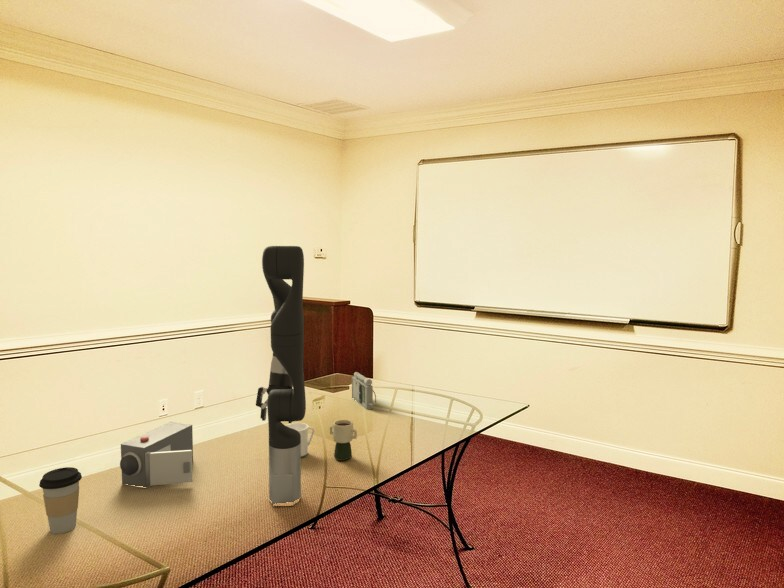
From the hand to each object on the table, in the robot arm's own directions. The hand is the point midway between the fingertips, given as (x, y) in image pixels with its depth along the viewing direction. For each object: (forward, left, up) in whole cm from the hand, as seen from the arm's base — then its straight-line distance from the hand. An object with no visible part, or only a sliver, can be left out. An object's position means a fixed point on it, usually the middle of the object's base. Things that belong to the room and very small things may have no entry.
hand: (277, 421), depth 168 cm
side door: (-6, +32, -17) cm, 37 cm away
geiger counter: (+78, -29, -19) cm, 86 cm away
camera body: (+4, +39, -19) cm, 44 cm away
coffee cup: (-29, +51, -19) cm, 62 cm away
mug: (+19, -5, -19) cm, 27 cm away
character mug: (+15, -21, -19) cm, 32 cm away
